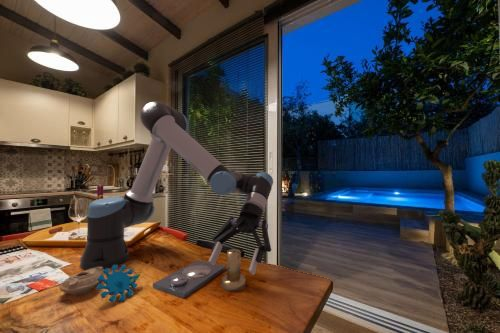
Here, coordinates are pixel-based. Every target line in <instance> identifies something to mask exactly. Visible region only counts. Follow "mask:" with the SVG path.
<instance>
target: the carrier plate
mask: <svg viewBox="0 0 500 333" xmlns="http://www.w3.org/2000/svg"><path fill="white" fill-rule="evenodd" d="M224 271H227V265H224V264H219V263H215V265H214V266H213V265H212V264H211V263H210V262H209V261H206V260H201V259H197V260H196V261H193V262H191V263H190V264H187V265H186V266H184V267H182V268H179V269H177V270H176V271H173V272H172V273H170V274H169V275H166V276H164V277H163V278H161V279H159V280H157V281H155V282H153V283H152V288H153V289H155V290H158V291H162V292H165V293H167V294H170V295H173V296H176V297H179V298H182V299H185V298H187V297H188V296H190V295H191V294H192V293H194V292H195V291H197V290H199V289H200V288H202V287H203V286H205V285H206V284H207V283H209V282H210V281H211V280H213V279H215V277H218V276H219V275H220V274H222V273H224Z"/></svg>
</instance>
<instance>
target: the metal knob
mask: <svg viewBox="0 0 500 333" xmlns="http://www.w3.org/2000/svg"><path fill="white" fill-rule="evenodd" d="M245 287H246V276H245V275H244V274H241V250H240V249H237V248H236V249H235V248H231V249H228V250H227V252H226V274H225V275H223V276H222V277H221V288H222V290H224V291H227V292H231V293H233V292H234V293H235V292H239V291H243V289H245Z"/></svg>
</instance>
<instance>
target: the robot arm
mask: <svg viewBox="0 0 500 333" xmlns="http://www.w3.org/2000/svg"><path fill="white" fill-rule="evenodd" d="M140 122H141V123H142V125H143V127H144V128H145V129H146V130H147V131H148V132H150V133H149V134H150V137H151V140H150V142H149V145H148V148H147V150H146V153H145V155H144V157H143V160H142V162H141V164H140V167H139V169H138V172H137V174H136V177H135V179H134V182H133V184H132V187H131V188H130V189H128V190H126V191H125V193H124V196H123V197H121V196H111V197H110V196H109V197H105V198H100V199H99V198H98V199H95V200H93V201H91V202H90V203H89V205H88V211H87V214H86V215H87V230H86V231H87V234H86V238H87V239H86V244H85V247H84V249H83V252H82V255H81V257H80V260H79V262H80V263H79V267H80V268H81V269H83V270H89V269H91V268H95V267H103V269H106V268H112V266H113V265H118V266H119V265H120V264H122V263H124V262H126V261H127V260H129V254H130V253H129V249H128V246H127V243H126V240H125V229H126V228H129V227H133V226H136V225H140V224H143V223H146V222H147V221H149V220H150V219H151V218H152V217H153V215H154V213H155V206H154V196H153V192H154V190H155V188H156V186H157V184H158V181H159V179H160V176H161V174H162V171H163V169H164V167H165V164H166V161H167V159H168V156H169V154H170V153H171V150H173V151H175V152H176V154H178V156H180V157H181V158H182V159H184V161H185V162H186V163H187V164H189V165H190V166H191V167H192V168H193V170H195V171H196V172H197V173H198V174H199V175H200V176H202V177H203V178H204V179H205V180H206V181H207V182H209V184H210V185H209V186H210V188H211V190H212V191H213V192H214V193H215V194H216V195H218V196H219V195H220V196H222V195H223V196H224V195H225V196H226V195H230V194H232V193H233V194H234V193H240V194H244V195H246V198H245V200H244V202H243V205H242V207H241V209H240V212H239V216H238V217H237V218H235V217H234V216H229V218H228V220H227V221H226V222H225V223H224V224H223V225H222V226H221V227H220V228H219V229H218V230H217V231H216V232H215V233H214V234H213V235H212V236H211V239H212V240H213V242H214V244H213V246H212V248H211V252H212V253H211V255H210V257H209V259H208V262H210V263H211V264H212V265H213V266H214V265H215V264H217V260H218V258H219V256H220V253H221V251H222V248H223V244H224V243H225V242H227V241H228V240H230V239H231V238H233V237H234V236H235V235H237V234H240V233H242V234H246V235H247V234H248V235H250V234H251V233H252V235H253V238H254V239H255V243H256V245H257V247H256V248H255V250H254V253H253V256H252V259H251V261H250V265H249V268H248V271H249V272H250V275H251V276H255V274H256V271H257V270H256V269H257V268H258V263H259V264H261V262H263V261H262V260H263V257H264V254H265V252H268V253H269V252H271V251H272V247H271V246H272V245H271V242H270V238H269V232H268V228H269V224H268V221H267V220H266V219H263V220H262V216H263V215H264V212H265V209H266V208H265V207H266V206H267V203H268V200H269V198H270V197H269V196H270V194H271V191H272V188H273V185H274V179H273V176H272V175H270V173H268V172H264V171H262V172H257V174H256V175H249V174H245V173H243V172H238V171H235V170H230V169H228V168H227V167H226V166H225V165H223V163H221V162H220V161H219V160H218V159H217V158H216V157H215V156H213V154H212V153H210V152H209V151H208V150H207V149H206V148H205V147H203V146H202V145H201V144H200V143H199V142H198V141H197V140H196V139H195V138H193V137H192V136H191V135H190V134H189V133H188V131H189V120H188V118H187V117H186V116H185V115H184V114H183V113H182V112H181V111H179V110H178V109H175V108H173V107H171V106H169V105H168V104H166V103H164V102H161V101H150V102H148V103H146V104H145V105H144V106H143V107H142V109H141V110H140ZM261 220H262V221H261ZM259 227H260V228H261V232H262V237H263V241H264V244H263V243H262V241H261V239H260V237H259V235H258V233H257V229H258V228H259Z"/></svg>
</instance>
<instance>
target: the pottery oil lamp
mask: <svg viewBox="0 0 500 333" xmlns="http://www.w3.org/2000/svg"><path fill="white" fill-rule="evenodd" d="M103 271H104V268H103V267H95V268H91V269H85V270H82V271H80V272H77V273H76V274H72V275H70V276H69V277H68V278H67V279H65V280H64V281H63V282H62V283H61V284H60V286H59V289H60V291H61V292H63V293H66V294H68V295H75V296H83V295H87V294H88V293H89V292H91V291H92V290H93V288H95V286H98V284H100V282H101V281H98V280H97V279H98V278H99V277H100V275H104V273H103Z"/></svg>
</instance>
